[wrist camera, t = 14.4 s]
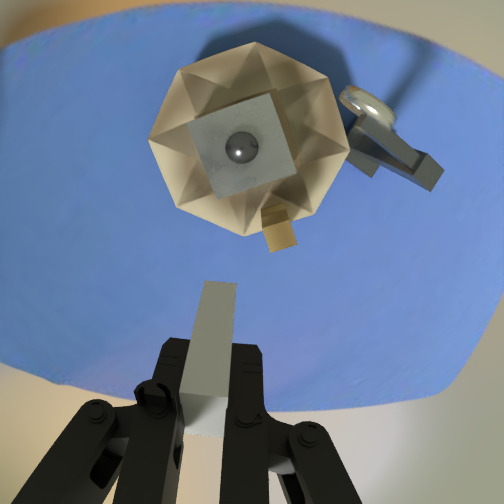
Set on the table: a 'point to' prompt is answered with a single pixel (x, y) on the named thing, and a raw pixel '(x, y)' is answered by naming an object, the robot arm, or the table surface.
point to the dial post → (383, 141)
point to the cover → (242, 146)
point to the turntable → (293, 125)
